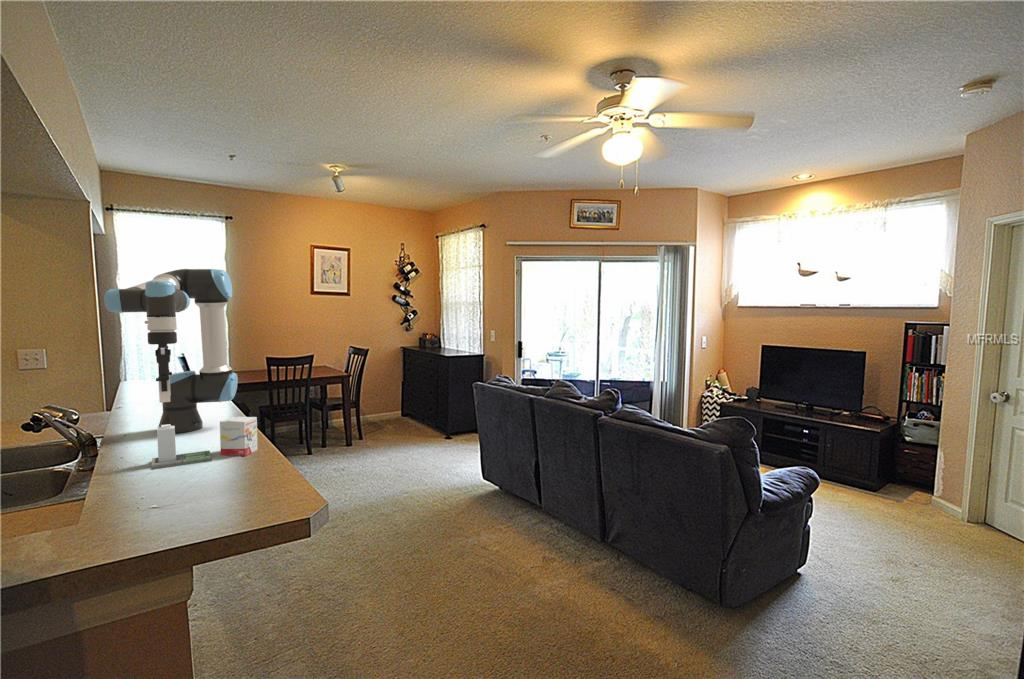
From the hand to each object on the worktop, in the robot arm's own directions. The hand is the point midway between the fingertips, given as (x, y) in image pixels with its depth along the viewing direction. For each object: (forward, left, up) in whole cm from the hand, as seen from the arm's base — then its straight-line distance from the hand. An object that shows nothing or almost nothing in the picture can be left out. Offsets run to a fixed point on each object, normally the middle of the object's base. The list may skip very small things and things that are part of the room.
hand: (165, 398), depth 161 cm
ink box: (-1, +20, -21) cm, 29 cm away
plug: (0, 0, -20) cm, 20 cm away
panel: (0, +4, -21) cm, 21 cm away
